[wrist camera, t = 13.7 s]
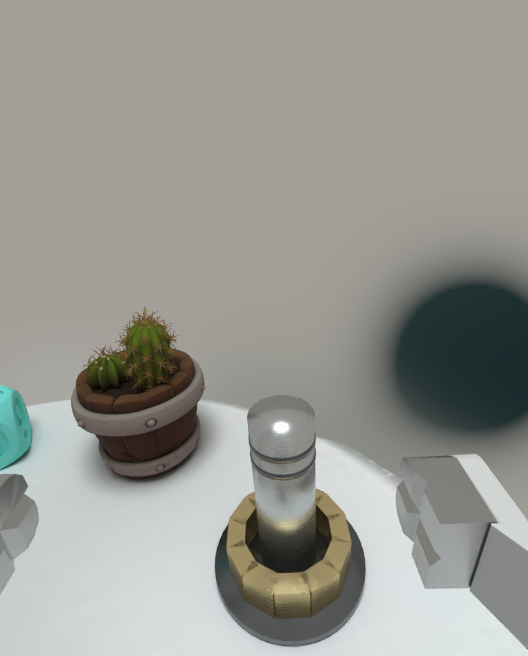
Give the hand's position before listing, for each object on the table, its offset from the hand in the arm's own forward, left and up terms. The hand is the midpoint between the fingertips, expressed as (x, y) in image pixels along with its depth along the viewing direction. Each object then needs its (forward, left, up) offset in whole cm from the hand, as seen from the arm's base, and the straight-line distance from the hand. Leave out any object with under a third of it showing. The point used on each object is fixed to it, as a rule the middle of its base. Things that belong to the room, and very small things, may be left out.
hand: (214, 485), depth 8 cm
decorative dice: (-35, +32, -26) cm, 54 cm away
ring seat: (+2, +16, -26) cm, 31 cm away
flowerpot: (-14, +31, -26) cm, 43 cm away
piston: (+2, +16, -25) cm, 30 cm away
